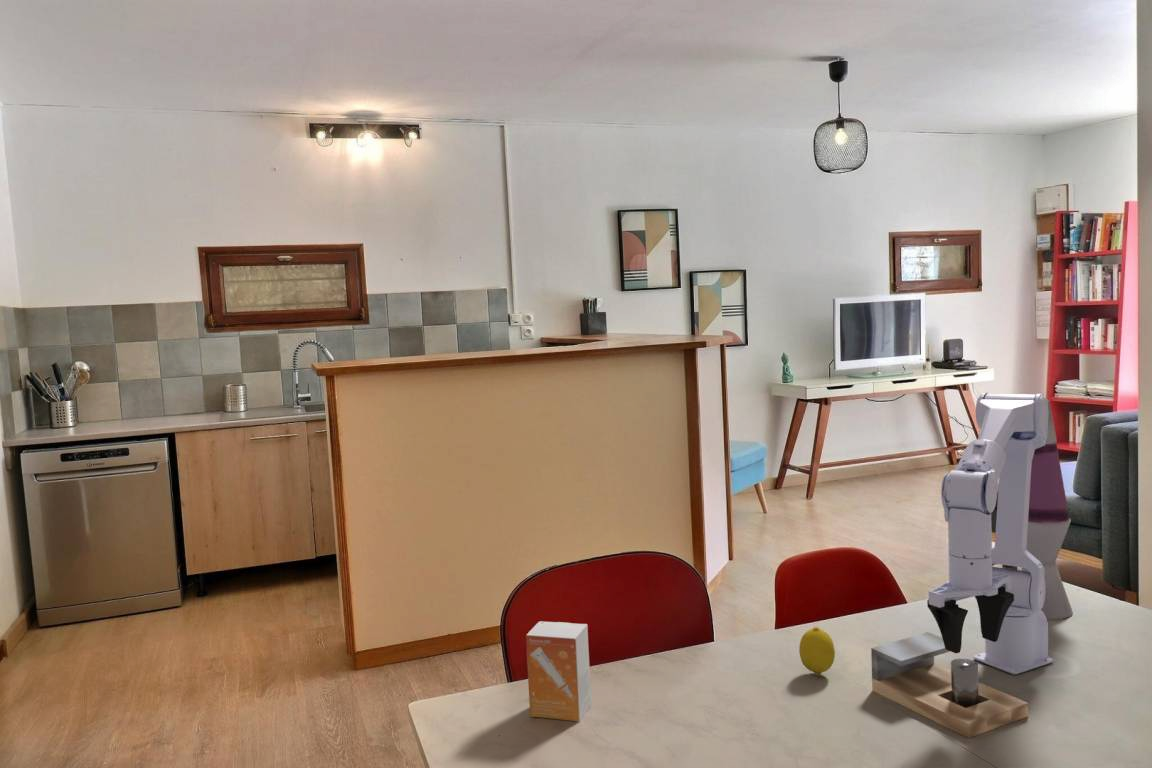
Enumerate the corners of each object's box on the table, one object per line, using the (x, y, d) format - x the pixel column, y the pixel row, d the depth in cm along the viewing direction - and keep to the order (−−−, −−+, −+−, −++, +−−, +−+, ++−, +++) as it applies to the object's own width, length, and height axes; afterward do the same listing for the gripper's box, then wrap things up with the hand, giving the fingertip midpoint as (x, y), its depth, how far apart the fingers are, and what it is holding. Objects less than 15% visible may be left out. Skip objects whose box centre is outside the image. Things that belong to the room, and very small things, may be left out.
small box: (529, 718, 136) (524, 634, 135) (543, 699, 142) (538, 619, 141) (580, 722, 134) (575, 638, 133) (592, 704, 140) (588, 622, 139)
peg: (961, 702, 133) (960, 656, 133) (984, 710, 130) (983, 664, 130) (946, 709, 131) (945, 662, 131) (969, 718, 128) (967, 670, 128)
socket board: (928, 673, 144) (927, 632, 144) (1028, 716, 128) (1027, 670, 128) (872, 690, 139) (871, 648, 139) (969, 738, 123) (968, 690, 123)
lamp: (1001, 600, 176) (999, 397, 172) (1060, 600, 174) (1059, 395, 170) (1018, 619, 165) (1016, 404, 162) (1082, 620, 163) (1081, 402, 160)
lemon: (836, 682, 143) (835, 633, 142) (800, 681, 144) (799, 633, 143) (833, 668, 148) (832, 621, 147) (799, 667, 149) (797, 620, 149)
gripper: (956, 569, 122) (958, 665, 123) (1029, 551, 128) (1030, 643, 130) (916, 557, 129) (918, 649, 130) (987, 540, 135) (988, 628, 136)
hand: (971, 645), depth 130 cm, fingers open, 7 cm apart
